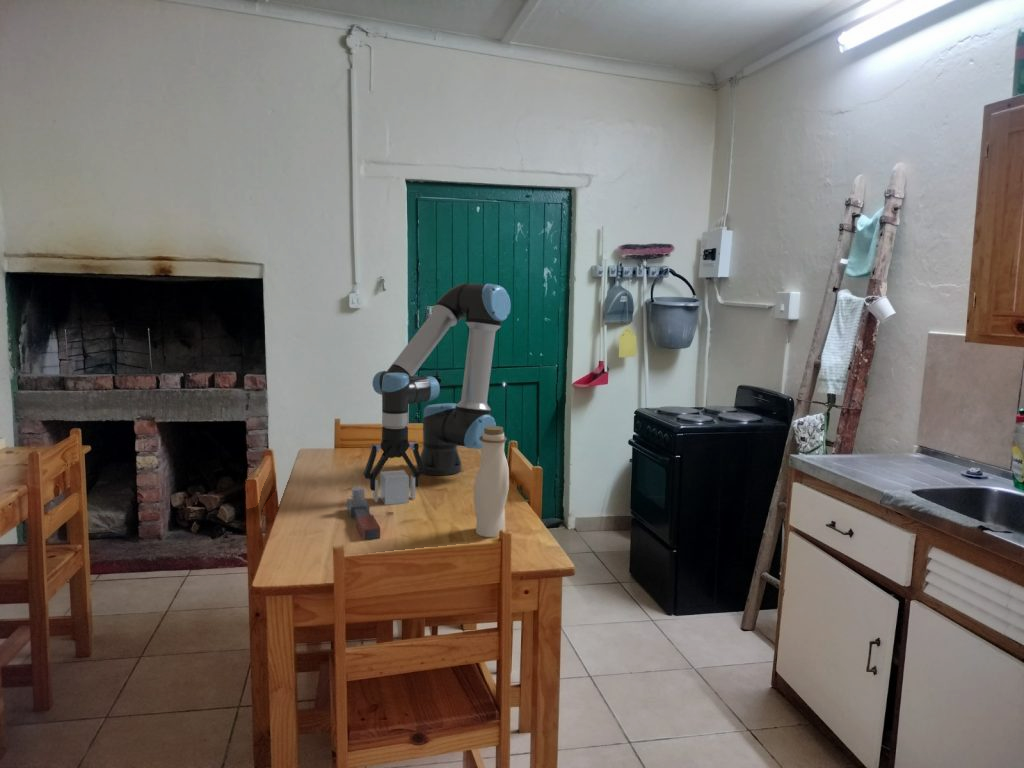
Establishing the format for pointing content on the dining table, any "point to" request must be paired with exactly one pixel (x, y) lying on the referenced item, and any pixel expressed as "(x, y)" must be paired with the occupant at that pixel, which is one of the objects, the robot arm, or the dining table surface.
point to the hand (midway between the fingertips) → (394, 499)
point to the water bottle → (491, 483)
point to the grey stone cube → (394, 487)
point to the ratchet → (362, 515)
